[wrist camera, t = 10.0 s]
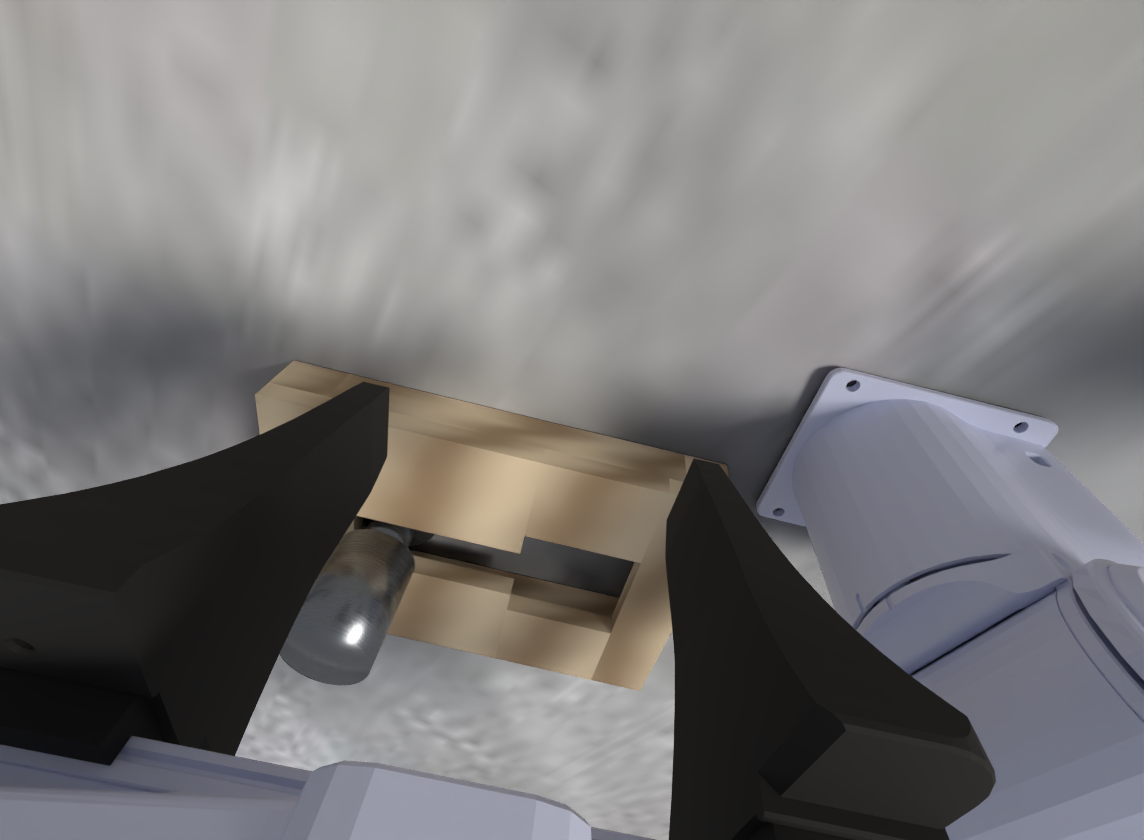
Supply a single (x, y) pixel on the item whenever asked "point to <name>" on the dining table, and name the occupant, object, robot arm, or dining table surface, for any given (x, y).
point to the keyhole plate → (514, 526)
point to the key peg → (352, 604)
